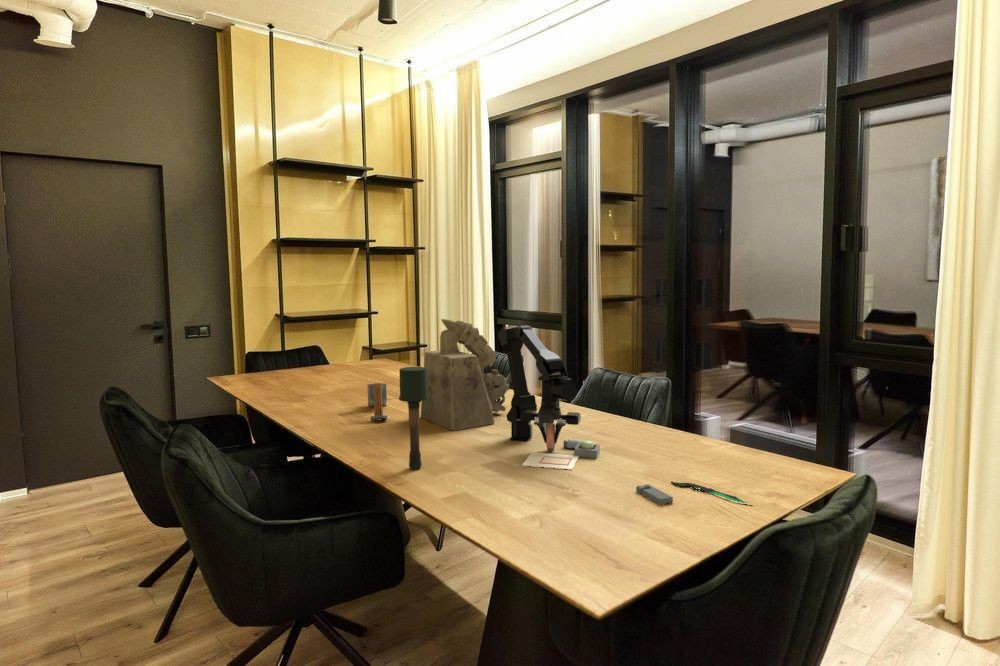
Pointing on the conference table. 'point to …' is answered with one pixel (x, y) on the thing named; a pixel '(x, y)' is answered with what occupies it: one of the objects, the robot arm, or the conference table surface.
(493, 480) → the conference table surface
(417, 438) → the stick grenade
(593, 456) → the button housing
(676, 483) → the knife
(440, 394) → the sculpture
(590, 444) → the button
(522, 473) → the conference table surface
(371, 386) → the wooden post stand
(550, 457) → the sheet
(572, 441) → the grey cylinder
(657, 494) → the bracket
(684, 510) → the conference table surface
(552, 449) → the salmon rounded cylinder
